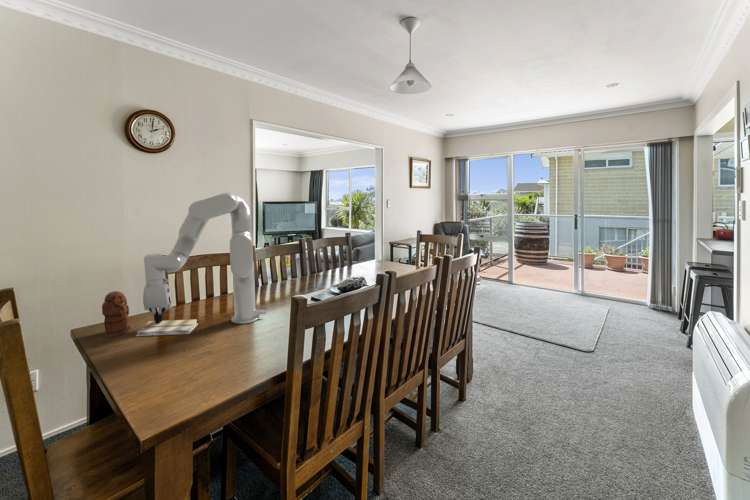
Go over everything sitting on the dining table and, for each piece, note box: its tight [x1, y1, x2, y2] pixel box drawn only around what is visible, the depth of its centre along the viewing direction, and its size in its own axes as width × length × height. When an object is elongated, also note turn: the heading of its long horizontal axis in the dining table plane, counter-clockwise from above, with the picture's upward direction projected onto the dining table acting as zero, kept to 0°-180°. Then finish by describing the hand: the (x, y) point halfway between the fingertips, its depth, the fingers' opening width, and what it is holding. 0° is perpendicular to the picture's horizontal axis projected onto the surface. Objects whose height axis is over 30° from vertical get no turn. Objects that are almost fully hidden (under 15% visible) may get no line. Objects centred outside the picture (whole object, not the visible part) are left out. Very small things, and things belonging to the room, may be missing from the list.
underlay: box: [135, 323, 199, 337], centre depth 158 cm, size 21×12×1 cm, turn 99°
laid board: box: [136, 325, 193, 336], centre depth 155 cm, size 20×6×1 cm, turn 99°
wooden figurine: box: [101, 290, 131, 338], centre depth 154 cm, size 12×6×18 cm, turn 11°
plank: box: [143, 318, 198, 327], centre depth 161 cm, size 20×6×1 cm, turn 99°
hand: (158, 322), depth 161 cm, fingers closed
